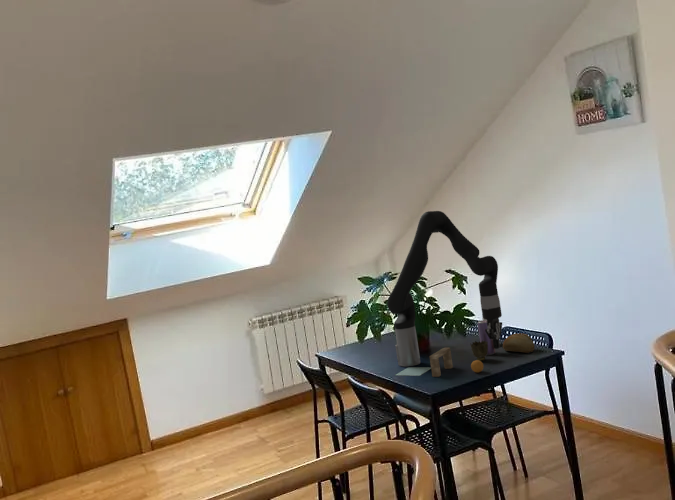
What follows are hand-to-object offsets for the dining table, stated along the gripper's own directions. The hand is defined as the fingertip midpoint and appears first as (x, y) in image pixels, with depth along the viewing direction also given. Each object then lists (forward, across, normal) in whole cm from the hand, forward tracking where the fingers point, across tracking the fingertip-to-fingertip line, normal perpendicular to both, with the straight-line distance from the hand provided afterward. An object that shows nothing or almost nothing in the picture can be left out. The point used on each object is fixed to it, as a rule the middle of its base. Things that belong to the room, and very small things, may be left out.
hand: (497, 348), depth 293 cm
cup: (+10, -18, -16) cm, 26 cm away
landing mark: (+10, 0, -40) cm, 41 cm away
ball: (+7, 0, -10) cm, 12 cm away
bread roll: (+10, -33, -4) cm, 35 cm away
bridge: (+10, 0, -26) cm, 28 cm away
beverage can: (+10, -29, -17) cm, 35 cm away
